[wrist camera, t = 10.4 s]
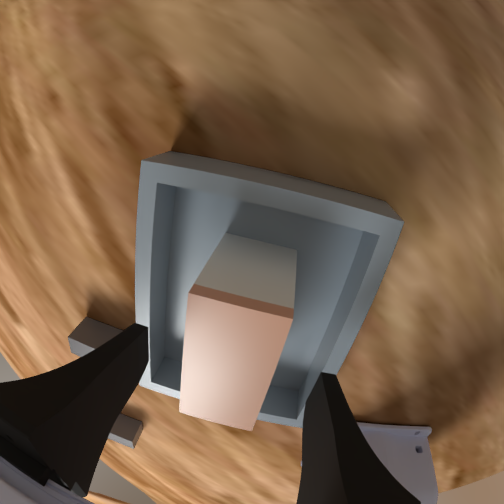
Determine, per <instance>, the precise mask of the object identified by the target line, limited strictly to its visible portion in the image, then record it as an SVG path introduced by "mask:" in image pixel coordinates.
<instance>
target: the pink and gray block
mask: <svg viewBox="0 0 504 504" xmlns="http://www.w3.org/2000/svg"><path fill="white" fill-rule="evenodd" d="M296 264H297V250H295V249H291V248H287V247H283V246H278V245H274V244H270V243H266V242H262V241H258V240H254V239H249V238H245V237H241V236H237V235H233V234H228V233H225V234H224V236H223V238H222V239H221V241H220V242H219V244H218V245H217V247H216V249H215V250H214V252H213V253H212V255H211V257H210V258H209V260H208V261H207V263H206V265H205V266H204V268H203V270H202V271H201V273H200V274H199V276H198V278H197V279H196V281H195V283H194V284H193V286H192V287H191V289H190V291H189V292H188V300H187V311H186V321H185V333H184V345H183V358H182V372H181V388H180V407H179V412H181V413H184V414H187V415H191V416H194V417H197V418H201V419H204V420H208V421H212V422H216V423H219V424H223V425H227V426H231V427H235V428H240V429H244V430H249V431H252V429H253V427H254V424H255V422H256V419H257V417H258V414H259V412H260V409H261V406H262V404H263V401H264V399H265V396H266V393H267V391H268V388H269V386H270V383H271V380H272V378H273V375H274V372H275V369H276V367H277V364H278V361H279V358H280V356H281V353H282V350H283V347H284V344H285V342H286V339H287V336H288V333H289V330H290V327H291V324H292V321H293V315H294V300H295V283H296Z"/></svg>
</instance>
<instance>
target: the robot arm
mask: <svg viewBox="0 0 504 504" xmlns="http://www.w3.org/2000/svg"><path fill="white" fill-rule="evenodd" d="M148 362H149V343H148V327H146V326H143V325H140V324H138V323H134V324H132V325H131V326H129V327H128V328H126V329H125V330H123V331H122V332H121V333H119V334H118V335H116V336H115V337H113V338H112V339H110V340H109V341H107V342H106V343H104V344H102V345H101V346H99V347H98V348H96V349H94V350H93V351H91V352H89V353H87V354H86V355H84V356H82V357H80V358H79V359H77V360H75V361H73V362H71V363H68V364H66V365H64V366H62V367H59V368H57V369H54V370H52V371H49V372H46V373H43V374H40V375H37V376H33V377H29V378H25V379H21V380H16V381H10V382H3V383H0V504H94V503H92V502H90V501H88V500H86V499H84V498H82V497H86V496H87V494H88V491H89V487H90V484H91V481H92V478H93V474H94V472H95V468H96V466H97V463H98V460H99V458H100V455H101V453H102V450H103V448H104V445H105V443H106V440H107V438H108V436H109V434H110V431H111V429H112V427H113V425H114V423H115V421H116V419H117V417H118V416H119V414H120V413H121V411H122V409H123V408H124V406H125V404H126V403H127V401H128V400H129V398H130V396H131V395H132V393H133V391H134V390H135V388H136V386H137V385H138V383H139V381H140V380H141V378H142V375H143V373H144V371H145V369H146V366H147V364H148ZM431 432H432V429H431V427H421V426H397V425H382V424H370V423H359V422H356V420H355V418H354V416H353V414H352V412H351V410H350V408H349V405H348V403H347V401H346V399H345V396H344V394H343V391H342V389H341V387H340V384H339V382H338V379H337V377H336V375H335V374H331V373H325V372H321V373H320V375H319V377H318V379H317V381H316V383H315V385H314V387H313V389H312V391H311V393H310V394H309V396H308V398H307V400H306V403H305V410H304V417H303V433H302V461H301V466H302V472H301V481H300V487H299V493H298V499H297V504H437V499H438V487H437V481H436V476H435V471H434V466H433V461H432V456H431V451H430V447H429V443H428V438H427V437H428V436H429V434H430V433H431Z"/></svg>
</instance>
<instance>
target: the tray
mask: <svg viewBox="0 0 504 504" xmlns="http://www.w3.org/2000/svg"><path fill="white" fill-rule="evenodd" d="M403 224H404V221H403V220H402V219H401V218H400V217H399V215H398V214H397V213H396V212H395V211H394V210H393V209H392V208H391V207H390V205H389V204H388V203H387V202H386V201H382V200H379V199H376V198H373V197H369V196H366V195H362V194H359V193H355V192H352V191H348V190H345V189H341V188H338V187H334V186H330V185H326V184H323V183H319V182H315V181H311V180H307V179H303V178H299V177H295V176H291V175H287V174H283V173H278V172H274V171H270V170H265V169H261V168H256V167H252V166H247V165H242V164H238V163H233V162H228V161H223V160H218V159H212V158H207V157H202V156H196V155H191V154H185V153H179V152H173V151H168V152H165V153H162V154H159V155H156V156H153V157H150V158H147V159H144V160H141V170H140V181H139V193H138V208H137V226H136V253H135V312H136V323H138V324H140V325H143V326H146V327H148V343H149V362H148V364H147V366H146V369H145V371H144V373H143V375H142V378H141V380H140V381H139V383H140V386H143V387H145V388H148V389H151V390H154V391H157V392H160V393H163V394H166V395H169V396H172V397H175V398H178V399H180V388H181V372H182V358H183V345H184V333H185V321H186V311H187V300H188V292H189V291H190V289H191V287H192V286H193V284H194V283H195V281H196V279H197V278H198V276H199V274H200V273H201V271H202V270H203V268H204V266H205V265H206V263H207V261H208V260H209V258H210V257H211V255H212V253H213V252H214V250H215V249H216V247H217V245H218V244H219V242H220V241H221V239H222V238H223V236H224V234H225V233H228V234H233V235H237V236H241V237H245V238H249V239H254V240H258V241H262V242H266V243H270V244H274V245H278V246H283V247H287V248H291V249H295V250H297V264H296V283H295V300H294V315H293V321H292V324H291V327H290V330H289V333H288V336H287V339H286V342H285V344H284V347H283V350H282V353H281V356H280V358H279V361H278V364H277V367H276V369H275V372H274V375H273V378H272V380H271V383H270V386H269V388H268V391H267V393H266V396H265V399H264V401H263V404H262V406H261V409H260V412H259V414H258V417H257V420H262V421H267V422H272V423H277V424H282V425H288V426H294V427H300V428H303V417H304V410H305V403H306V400H307V398H308V396H309V394H310V393H311V391H312V389H313V387H314V385H315V383H316V381H317V379H318V377H319V375H320V373H321V372H325V373H331V374H335V375H337V373H338V371H339V369H340V367H341V365H342V363H343V362H344V360H345V358H346V356H347V354H348V352H349V350H350V348H351V346H352V344H353V342H354V340H355V338H356V336H357V334H358V332H359V330H360V328H361V326H362V323H363V321H364V319H365V317H366V315H367V313H368V311H369V308H370V306H371V304H372V302H373V299H374V297H375V295H376V293H377V290H378V288H379V286H380V283H381V281H382V279H383V276H384V274H385V271H386V269H387V266H388V264H389V261H390V259H391V256H392V254H393V251H394V249H395V246H396V243H397V241H398V238H399V235H400V233H401V230H402V227H403Z"/></svg>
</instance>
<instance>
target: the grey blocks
mask: <svg viewBox="0 0 504 504" xmlns="http://www.w3.org/2000/svg"><path fill="white" fill-rule="evenodd" d="M122 331H123V330H120V329H117V328H115V327H112V326H109V325H107V324H104V323H101V322H99V321H96V320H94V319H91V318H89V317H85V319H84V320H83V321H82V322H81V323H80V324H79V325H78V326H77V327H76V328H75V330H74V331H73V332H72V333H71V334H70V335H69V336H68V340H69V344H70V349H71V352H72V353H74V354H76V355H78V356H80V357H82V356H84V355H86V354H87V353H89V352H91V351H93V350H94V349H96V348H98V347H99V346H101V345H102V344H104V343H106V342H107V341H109V340H110V339H112V338H113V337H115V336H116V335H118V334H119V333H121V332H122ZM142 431H143V426H142V422H141V421H138V420H135V419H133V418H130V417H128V416H125V415H123V414H119V416H118V417H117V419H116V421H115V423H114V425H113V427H112V429H111V431H110V434H109V436H108V438H109V439H111V440H113V441H116V442H118V443H121V444H123V445H125V446H128V447H130V448H133V449H134V448H135V445H136V443H137V441H138V439H139V437H140V435H141V433H142Z"/></svg>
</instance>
